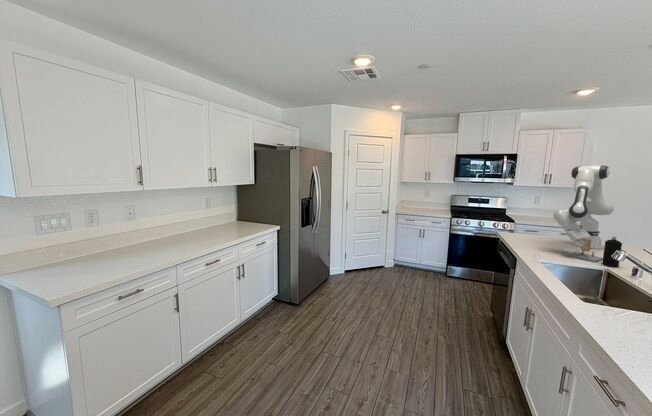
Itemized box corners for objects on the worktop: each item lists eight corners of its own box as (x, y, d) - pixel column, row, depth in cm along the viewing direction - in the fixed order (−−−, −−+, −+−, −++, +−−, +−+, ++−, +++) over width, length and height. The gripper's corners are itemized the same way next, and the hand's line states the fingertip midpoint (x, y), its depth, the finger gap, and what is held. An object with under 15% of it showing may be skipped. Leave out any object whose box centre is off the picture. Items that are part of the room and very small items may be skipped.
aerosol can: (616, 268, 176) (620, 238, 174) (599, 264, 183) (603, 236, 181) (621, 266, 180) (625, 237, 177) (604, 262, 187) (608, 234, 185)
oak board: (584, 250, 199) (586, 238, 198) (589, 251, 197) (591, 239, 195) (581, 250, 197) (582, 238, 196) (586, 251, 195) (588, 239, 193)
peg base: (575, 253, 208) (576, 247, 208) (604, 260, 193) (605, 253, 192) (565, 255, 203) (566, 249, 202) (595, 262, 187) (596, 255, 187)
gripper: (569, 227, 197) (584, 243, 189) (583, 225, 205) (598, 241, 198) (561, 232, 201) (575, 248, 194) (575, 230, 210) (589, 245, 202)
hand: (587, 244), depth 196 cm, fingers closed on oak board, 5 cm apart
